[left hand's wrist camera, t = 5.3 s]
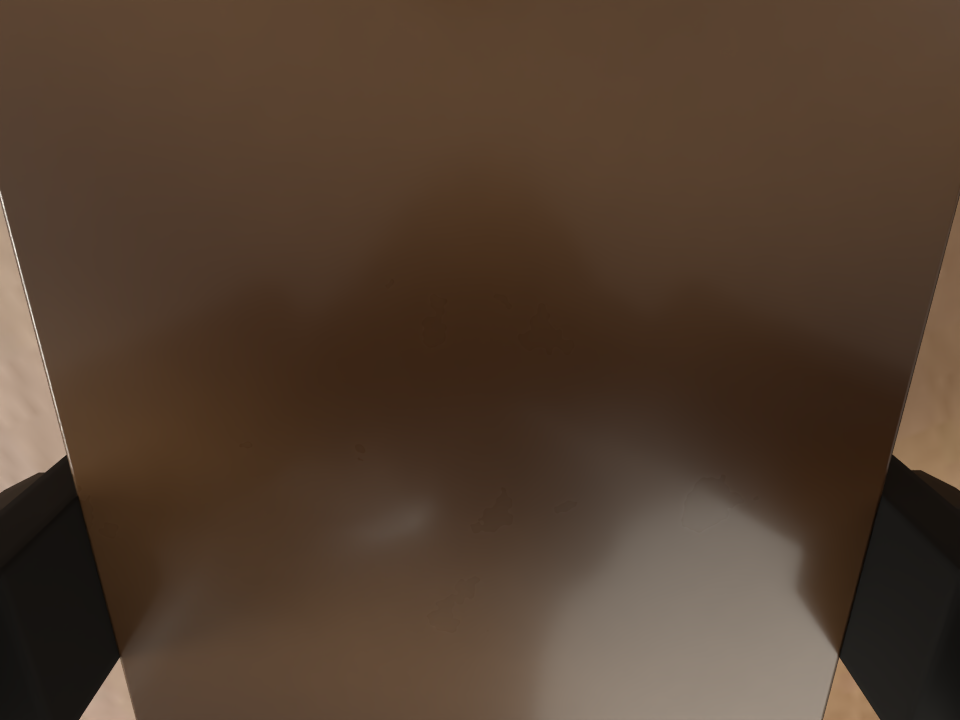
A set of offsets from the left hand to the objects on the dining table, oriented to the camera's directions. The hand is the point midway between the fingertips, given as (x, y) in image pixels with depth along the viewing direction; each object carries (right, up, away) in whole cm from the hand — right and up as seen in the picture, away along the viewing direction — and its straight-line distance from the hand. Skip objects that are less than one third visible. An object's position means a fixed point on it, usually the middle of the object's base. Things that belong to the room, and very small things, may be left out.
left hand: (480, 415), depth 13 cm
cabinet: (0, +5, +3) cm, 6 cm away
